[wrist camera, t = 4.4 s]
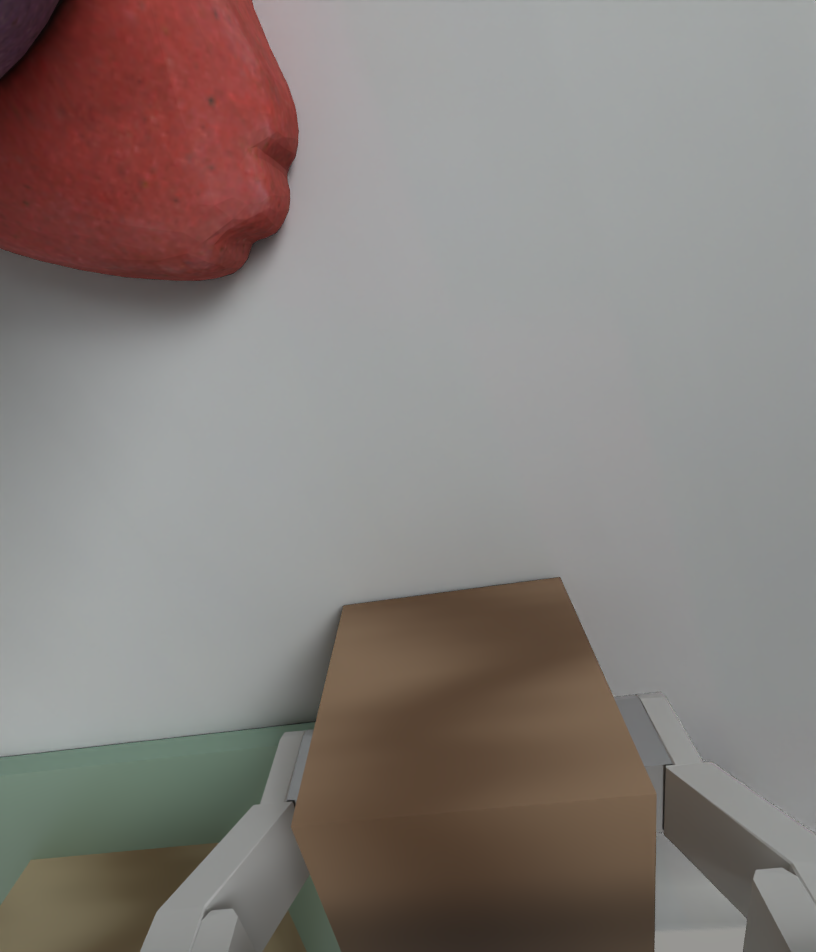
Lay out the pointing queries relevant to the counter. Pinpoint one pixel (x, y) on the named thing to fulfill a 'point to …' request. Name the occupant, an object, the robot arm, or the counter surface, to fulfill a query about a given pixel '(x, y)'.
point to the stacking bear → (141, 135)
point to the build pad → (143, 804)
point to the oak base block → (104, 901)
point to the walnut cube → (476, 782)
